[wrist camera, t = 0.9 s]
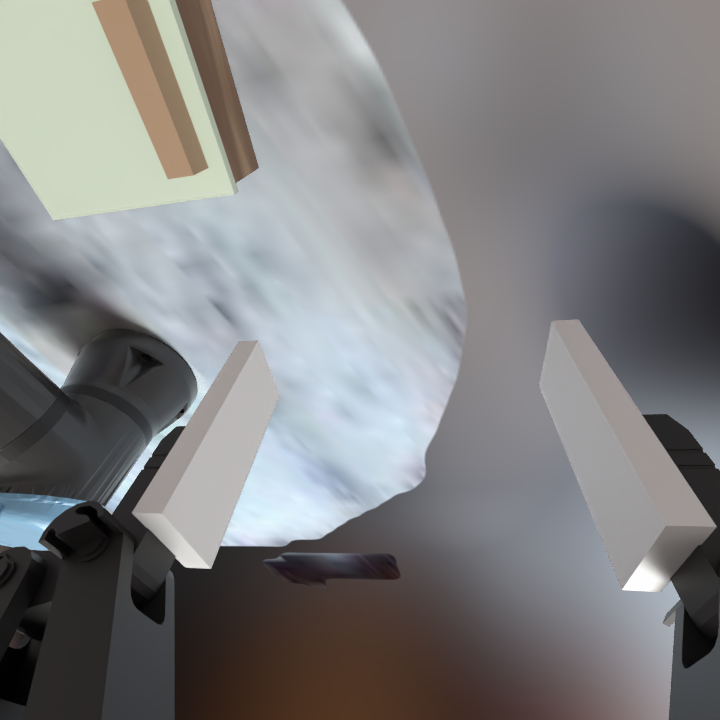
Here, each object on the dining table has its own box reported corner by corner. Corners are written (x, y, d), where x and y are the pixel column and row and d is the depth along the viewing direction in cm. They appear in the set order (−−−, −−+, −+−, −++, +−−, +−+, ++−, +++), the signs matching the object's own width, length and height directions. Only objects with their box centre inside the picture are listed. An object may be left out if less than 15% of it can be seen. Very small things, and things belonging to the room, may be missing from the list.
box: (107, 191, 36) (62, 209, 32) (21, 30, 29) (-54, 23, 24) (258, 167, 33) (234, 184, 29) (205, -18, 26) (160, -36, 21)
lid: (60, 217, 32) (30, 230, 29) (-69, 13, 24) (-125, 7, 21) (238, 191, 29) (222, 203, 26) (158, -51, 21) (124, -68, 18)
